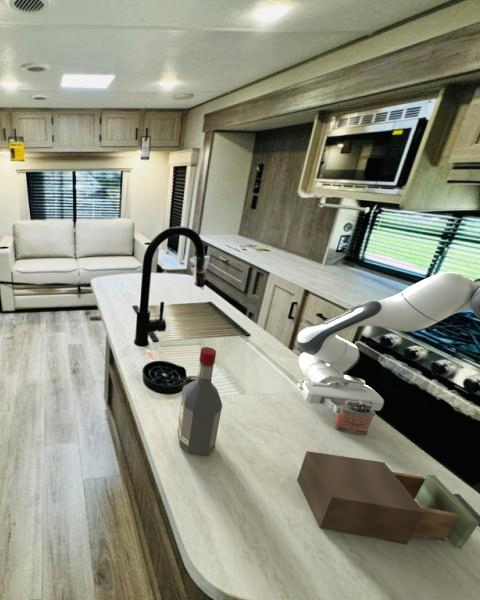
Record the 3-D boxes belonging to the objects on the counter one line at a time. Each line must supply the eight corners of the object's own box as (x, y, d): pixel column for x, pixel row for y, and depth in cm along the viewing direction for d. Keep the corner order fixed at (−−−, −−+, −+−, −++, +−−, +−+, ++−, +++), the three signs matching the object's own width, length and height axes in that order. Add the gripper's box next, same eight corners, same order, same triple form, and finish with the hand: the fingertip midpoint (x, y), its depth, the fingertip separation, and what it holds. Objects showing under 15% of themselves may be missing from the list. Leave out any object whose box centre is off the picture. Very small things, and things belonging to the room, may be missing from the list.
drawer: (442, 502, 70) (457, 477, 67) (487, 553, 60) (506, 527, 57) (347, 487, 74) (357, 463, 71) (375, 533, 64) (388, 507, 61)
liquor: (208, 432, 91) (223, 343, 81) (215, 458, 83) (233, 362, 72) (176, 428, 93) (186, 340, 82) (179, 453, 85) (192, 359, 74)
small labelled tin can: (363, 427, 92) (374, 400, 88) (369, 436, 89) (381, 408, 85) (331, 422, 94) (340, 395, 90) (336, 431, 91) (346, 403, 87)
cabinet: (370, 492, 73) (384, 462, 70) (406, 544, 63) (425, 512, 59) (296, 480, 77) (306, 450, 73) (319, 528, 66) (331, 496, 63)
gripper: (296, 372, 103) (316, 400, 91) (368, 379, 99) (399, 409, 87) (292, 388, 106) (311, 417, 93) (362, 395, 101) (392, 426, 89)
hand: (354, 413), depth 90 cm, fingers open, 6 cm apart
